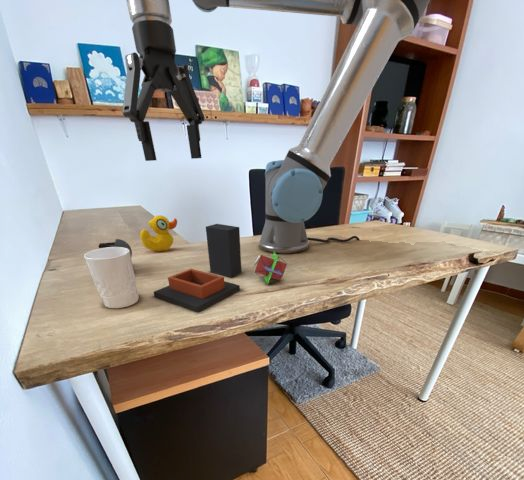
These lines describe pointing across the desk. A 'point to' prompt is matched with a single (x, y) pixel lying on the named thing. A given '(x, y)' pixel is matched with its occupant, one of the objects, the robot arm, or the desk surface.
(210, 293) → the base pad
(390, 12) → the robot arm
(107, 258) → the white cup
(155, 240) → the duckling
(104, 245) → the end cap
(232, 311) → the desk surface
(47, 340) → the desk surface
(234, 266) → the pad block
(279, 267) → the geometric puzzle
